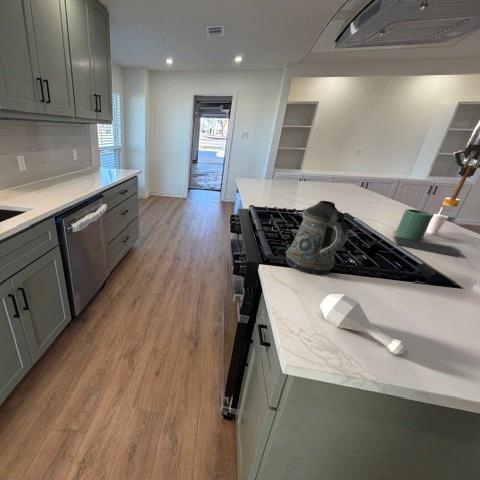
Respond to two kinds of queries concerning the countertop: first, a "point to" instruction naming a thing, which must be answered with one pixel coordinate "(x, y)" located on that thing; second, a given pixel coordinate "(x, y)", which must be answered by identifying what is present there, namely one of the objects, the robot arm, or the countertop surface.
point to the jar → (414, 224)
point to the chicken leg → (355, 319)
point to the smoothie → (436, 222)
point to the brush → (457, 189)
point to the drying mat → (426, 246)
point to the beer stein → (318, 239)
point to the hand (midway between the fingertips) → (464, 176)
